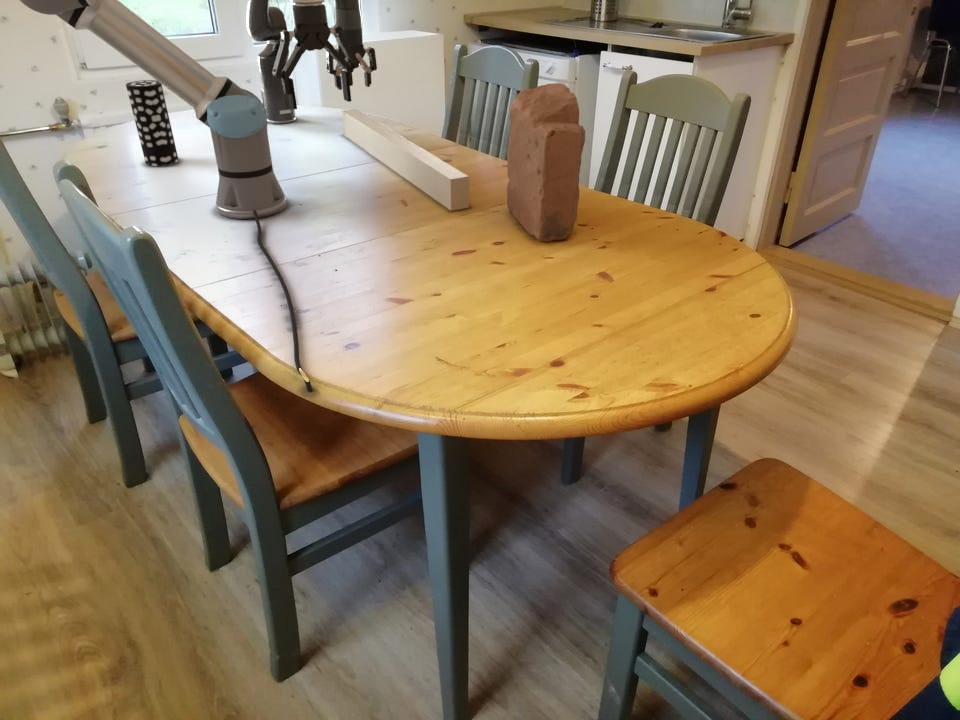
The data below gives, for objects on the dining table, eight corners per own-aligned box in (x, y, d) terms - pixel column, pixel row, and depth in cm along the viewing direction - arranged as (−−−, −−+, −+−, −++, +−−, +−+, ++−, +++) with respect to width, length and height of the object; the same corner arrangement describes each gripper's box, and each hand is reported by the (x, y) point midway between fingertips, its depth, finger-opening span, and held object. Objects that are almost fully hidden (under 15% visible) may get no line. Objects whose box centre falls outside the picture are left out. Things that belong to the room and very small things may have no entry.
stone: (590, 238, 144) (602, 97, 129) (540, 245, 141) (546, 100, 126) (549, 207, 161) (555, 80, 147) (504, 213, 158) (506, 82, 144)
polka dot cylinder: (184, 157, 190) (167, 80, 179) (169, 166, 183) (151, 87, 172) (155, 156, 190) (136, 79, 179) (139, 165, 183) (119, 86, 172)
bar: (468, 207, 160) (468, 176, 156) (450, 210, 158) (450, 179, 154) (358, 133, 213) (356, 109, 209) (344, 135, 211) (341, 110, 207)
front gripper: (353, -2, 160) (362, 94, 171) (246, 6, 148) (264, 108, 160) (367, 1, 155) (375, 100, 166) (258, 9, 143) (275, 114, 155)
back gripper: (367, 23, 197) (372, 83, 206) (319, 26, 191) (325, 87, 200) (377, 26, 192) (381, 88, 200) (328, 29, 186) (334, 92, 194)
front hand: (321, 104), depth 163 cm, fingers open, 13 cm apart
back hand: (353, 87), depth 200 cm, fingers open, 8 cm apart
